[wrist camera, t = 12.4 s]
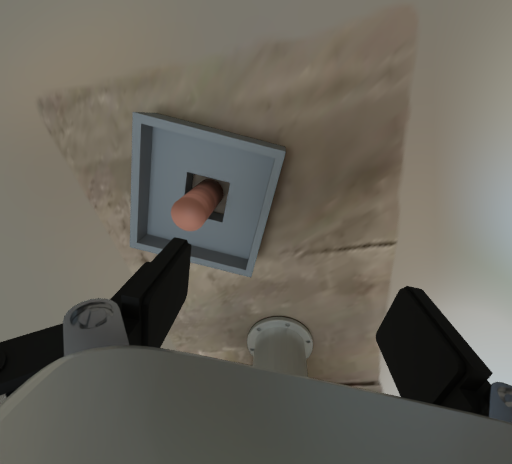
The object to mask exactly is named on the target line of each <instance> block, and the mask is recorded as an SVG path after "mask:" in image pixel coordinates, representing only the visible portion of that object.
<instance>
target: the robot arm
mask: <svg viewBox="0 0 512 464" xmlns="http://www.w3.org/2000/svg"><path fill="white" fill-rule="evenodd" d="M190 258H191V244H189V243H188V241H187V240H186V239H181V238H176V237H174V238H173V239H172V240H171V241H170V242H169V243H168V244H167V245H166V246H165V247H164V249H163V250H162V251H161V252H160V253H159V254H158V255H157V256H156V257H155V258H154V260H153V261H152V262H146V263H145V264H143V265H142V266H141V268H140V269H139V270H138V271H137V272H136V273H135V274H134V275H133V276H132V277H131V278H130V279H129V280H128V281H127V282H126V283H125V285H123V286H122V288H121V289H120V290H119V291H118V292H117V293H116V294H115V295H114V296H113V297H112V298H111V299H110V300H108V299H101V298H100V299H99V298H98V299H90V300H87V301H84V302H81V303H79V304H77V305H75V306H74V307H72V308H71V309H70V310H69V311H68V312H67V313H66V315H65V316H64V320H63V324H60V325H56V326H53V327H50V328H46V329H43V330H40V331H37V332H33V333H30V334H26V335H23V336H20V337H17V338H13V339H10V340H7V341H3V342H0V464H512V386H511V385H508V384H505V383H502V382H495V383H493V384H492V385H491V384H490V383H489V382H488V381H487V379H488V378H489V377H490V376H491V375H492V372H491V371H490V370H489V369H488V367H487V366H486V365H485V364H484V362H483V361H482V360H481V359H480V358H479V357H478V355H477V354H476V353H475V352H474V351H473V350H472V348H471V347H470V346H469V345H468V343H467V342H466V341H465V340H464V339H463V337H462V336H461V335H460V334H459V333H458V332H457V330H456V329H455V328H454V327H453V326H452V324H451V323H450V322H449V321H448V320H447V318H446V317H445V316H444V315H443V314H442V313H441V311H440V310H439V309H438V308H437V306H436V305H435V304H434V303H433V302H432V301H431V299H430V298H429V297H428V296H427V295H426V293H425V292H424V291H423V290H422V289H419V288H414V287H409V286H406V287H404V288H402V289H400V290H399V292H398V294H397V296H396V297H395V299H394V301H393V303H392V305H391V307H390V309H389V310H388V312H387V314H386V316H385V318H384V320H383V322H382V323H381V325H380V327H379V329H378V331H377V333H376V341H377V343H378V346H379V348H380V350H381V352H382V355H383V357H384V359H385V361H386V363H387V366H388V368H389V371H390V373H391V375H392V378H393V380H394V382H395V384H396V387H397V389H398V391H399V394H400V396H401V397H398V396H393V395H388V394H384V393H380V392H375V391H371V390H366V389H361V388H356V387H352V386H347V385H342V384H338V383H333V382H328V381H324V380H319V379H314V378H309V377H308V372H307V362H306V359H307V358H308V357H309V356H310V354H311V352H312V349H313V341H312V337H311V334H310V332H309V331H308V329H307V328H306V327H305V326H304V325H302V324H301V323H300V322H298V321H296V320H293V319H290V318H286V317H271V318H266V319H263V320H261V321H259V322H257V323H256V324H255V325H254V326H253V327H252V328H251V329H250V331H249V334H248V338H247V346H248V349H249V352H250V353H251V355H252V356H253V365H247V364H242V363H237V362H232V361H227V360H222V359H217V358H212V357H207V356H202V355H197V354H192V353H187V352H181V351H175V350H169V349H163V348H160V347H161V345H162V343H163V341H164V339H165V337H166V336H167V334H168V332H169V330H170V328H171V326H172V324H173V322H174V320H175V319H176V317H177V315H178V313H179V311H180V309H181V307H182V305H183V303H184V302H185V299H186V296H187V291H188V280H189V269H190Z"/></svg>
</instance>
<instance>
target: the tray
mask: <svg viewBox="0 0 512 464" xmlns="http://www.w3.org/2000/svg"><path fill="white" fill-rule="evenodd" d="M285 153H286V150H285V146H281V145H277V144H273V143H269V142H265V141H261V140H258V139H254V138H250V137H246V136H242V135H238V134H235V133H231V132H227V131H223V130H219V129H215V128H212V127H208V126H204V125H200V124H196V123H192V122H189V121H185V120H181V119H177V118H173V117H169V116H165V115H162V114H158V113H144V112H133V126H132V172H131V217H130V247H132V248H136V249H140V250H144V251H148V252H152V253H156V254H159V253H160V252H161V251H162V250H163V249H164V247H165V246H166V245H167V244H168V243H169V242H170V241H171V240H172V239H173V238H174V237H176V238H181V239H186V240H187V241H188V243H189V244H191V258H190V262H192V263H196V264H200V265H204V266H208V267H212V268H216V269H220V270H224V271H228V272H231V273H235V274H239V275H243V276H247V277H251V276H252V272H253V269H254V265H255V261H256V258H257V254H258V251H259V247H260V243H261V240H262V236H263V233H264V229H265V225H266V222H267V218H268V214H269V211H270V207H271V204H272V200H273V196H274V193H275V189H276V186H277V182H278V178H279V175H280V171H281V168H282V164H283V160H284V157H285ZM193 173H194V174H198V175H201V176H205V177H209V178H213V179H217V180H221V181H225V182H229V183H230V186H229V192H228V197H227V202H226V207H225V212H224V215H223V214H219V213H215V212H212V213H211V215H210V216H209V217H208V219H207V220H206V221H205V223H204V224H203V225H202V227H201V228H199V229H198V230H195V231H185V230H183V229H181V228H179V227H178V226H177V225H176V224H175V223H174V221H173V219H172V217H171V208H172V206H173V204H174V203H175V202H176V201H178V200H179V199H180V198H181V197H183V196H184V195H185V194H186V193H188V192H189V191H190V190H191V188H192V180H193Z"/></svg>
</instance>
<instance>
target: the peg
mask: <svg viewBox="0 0 512 464" xmlns="http://www.w3.org/2000/svg"><path fill="white" fill-rule="evenodd" d="M222 198H223V189H222V187H221V185H220V184H219V183H218V182H217V181H215V180H212V179H206V180H203V181H202V182H201V183H199V184H198V185H197V186H195V187H194V188H193V189H192V190H190V191H189V192H188V193H186V194H185V195H184V196H183V197H181V198H180V199H179V200H178V201H176V202H175V203H174V204H173V206H172V208H171V217H172V219H173V221H174V223H175V224H176V225H177V226H178V227H179V228H181V229H183V230H185V231H195V230H198V229H199V228H201V227H202V225H203V224H204V223H205V221H206V220H207V219H208V217H209V216H210V215H211V213H212V212H213V211H214V209H215V208H216V207H217V205H218V204H219V202H220V201H221V200H222Z"/></svg>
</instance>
